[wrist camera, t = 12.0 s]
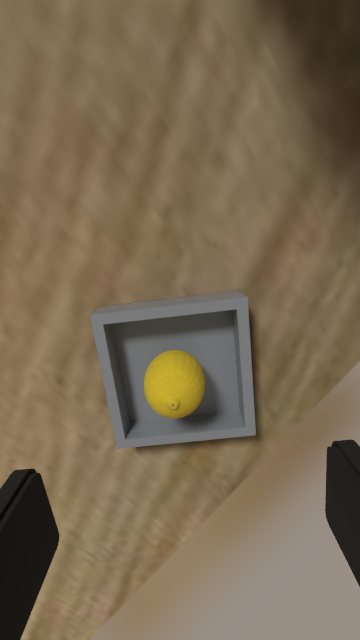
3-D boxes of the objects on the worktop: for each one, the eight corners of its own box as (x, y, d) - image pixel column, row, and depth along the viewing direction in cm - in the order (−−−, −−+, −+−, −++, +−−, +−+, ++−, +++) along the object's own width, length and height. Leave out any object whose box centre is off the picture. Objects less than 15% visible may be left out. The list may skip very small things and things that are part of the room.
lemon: (213, 366, 30) (223, 408, 23) (174, 398, 31) (170, 448, 24) (177, 328, 29) (175, 358, 22) (138, 362, 30) (122, 403, 23)
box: (100, 306, 30) (89, 315, 26) (239, 290, 29) (247, 296, 26) (123, 427, 33) (116, 448, 30) (248, 415, 33) (256, 435, 29)
